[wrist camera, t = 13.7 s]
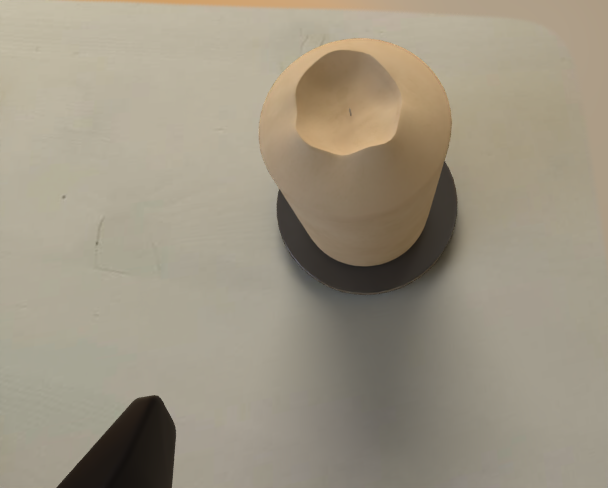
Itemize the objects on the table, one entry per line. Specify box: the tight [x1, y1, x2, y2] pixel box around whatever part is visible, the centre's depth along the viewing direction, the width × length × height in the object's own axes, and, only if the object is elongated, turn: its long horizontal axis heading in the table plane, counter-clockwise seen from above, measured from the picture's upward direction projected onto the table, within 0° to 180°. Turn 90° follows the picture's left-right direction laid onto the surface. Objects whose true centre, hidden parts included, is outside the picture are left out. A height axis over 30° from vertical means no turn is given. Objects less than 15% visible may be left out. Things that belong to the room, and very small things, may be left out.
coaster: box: [277, 161, 457, 295], centre depth 24 cm, size 8×8×1 cm
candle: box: [259, 38, 452, 266], centre depth 18 cm, size 6×6×10 cm
